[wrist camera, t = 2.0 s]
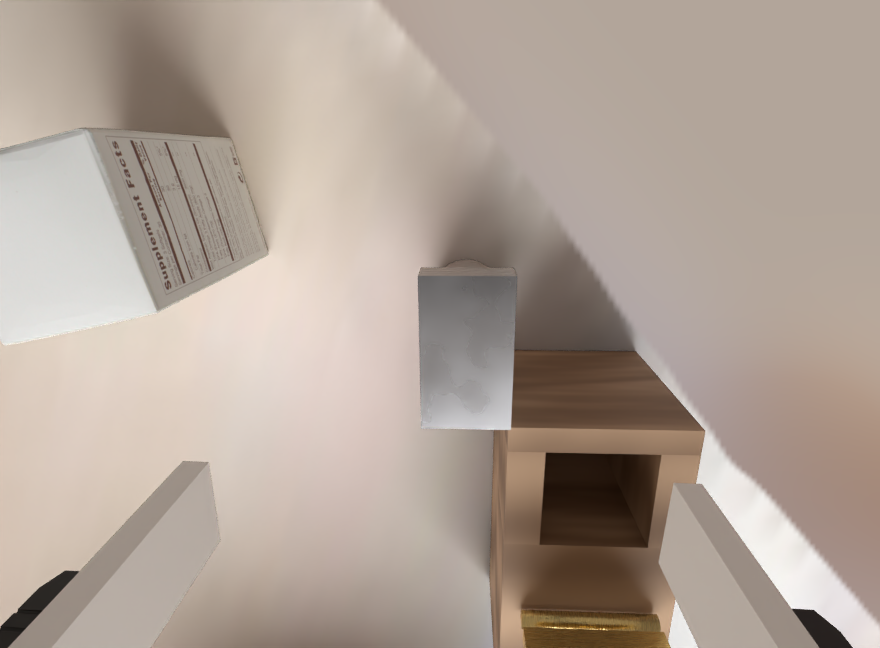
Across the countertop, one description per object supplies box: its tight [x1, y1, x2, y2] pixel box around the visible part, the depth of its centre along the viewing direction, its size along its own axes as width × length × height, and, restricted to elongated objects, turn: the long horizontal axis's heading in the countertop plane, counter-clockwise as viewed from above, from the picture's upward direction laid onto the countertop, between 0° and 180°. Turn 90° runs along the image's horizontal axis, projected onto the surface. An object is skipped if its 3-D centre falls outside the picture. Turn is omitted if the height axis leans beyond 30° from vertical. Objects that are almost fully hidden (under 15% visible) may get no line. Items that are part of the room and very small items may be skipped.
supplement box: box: [0, 128, 268, 345], centre depth 25 cm, size 7×7×13 cm
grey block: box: [418, 259, 517, 430], centre depth 27 cm, size 7×4×11 cm, turn 1°
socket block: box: [490, 350, 705, 648], centre depth 31 cm, size 19×9×10 cm, turn 1°
